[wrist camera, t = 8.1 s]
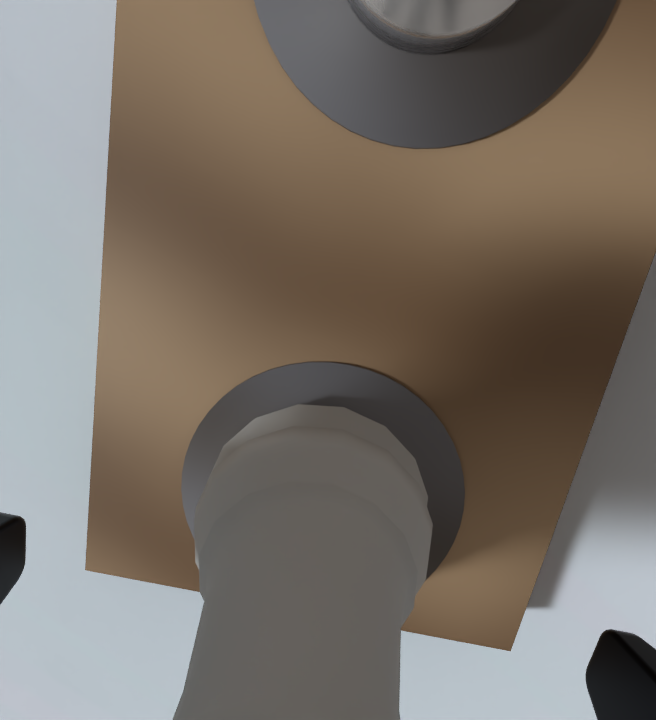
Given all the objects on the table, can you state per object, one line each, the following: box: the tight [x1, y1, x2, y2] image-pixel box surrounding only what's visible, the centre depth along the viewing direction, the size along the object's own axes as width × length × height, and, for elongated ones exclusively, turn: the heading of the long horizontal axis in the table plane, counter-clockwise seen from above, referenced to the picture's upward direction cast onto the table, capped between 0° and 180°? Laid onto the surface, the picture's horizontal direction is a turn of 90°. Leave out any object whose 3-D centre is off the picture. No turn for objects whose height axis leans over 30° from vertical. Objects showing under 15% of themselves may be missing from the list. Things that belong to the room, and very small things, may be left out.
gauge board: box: [85, 0, 656, 651], centre depth 9 cm, size 16×10×1 cm, turn 169°
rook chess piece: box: [173, 404, 433, 720], centre depth 5 cm, size 4×4×8 cm
